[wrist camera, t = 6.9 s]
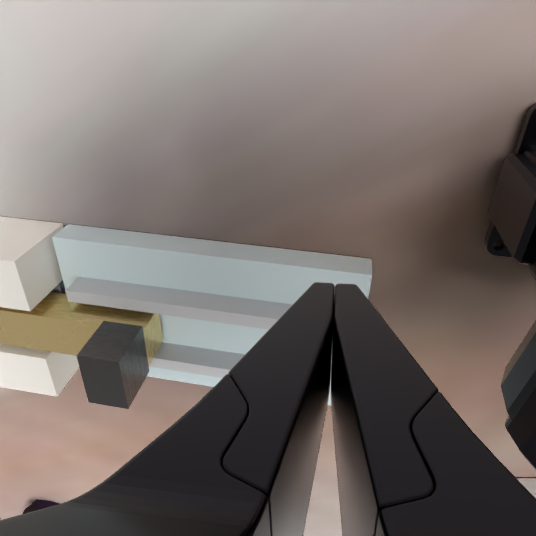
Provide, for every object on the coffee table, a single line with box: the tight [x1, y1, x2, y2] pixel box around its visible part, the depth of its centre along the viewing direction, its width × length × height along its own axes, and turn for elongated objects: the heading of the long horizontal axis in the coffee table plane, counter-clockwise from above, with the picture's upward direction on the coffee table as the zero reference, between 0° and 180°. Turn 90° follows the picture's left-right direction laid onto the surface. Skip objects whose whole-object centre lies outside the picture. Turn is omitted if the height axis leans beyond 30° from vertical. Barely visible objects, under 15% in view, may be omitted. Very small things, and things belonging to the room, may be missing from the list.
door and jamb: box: [0, 216, 372, 405], centre depth 24 cm, size 22×9×4 cm, turn 88°
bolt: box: [0, 292, 163, 409], centre depth 23 cm, size 10×3×4 cm, turn 88°
